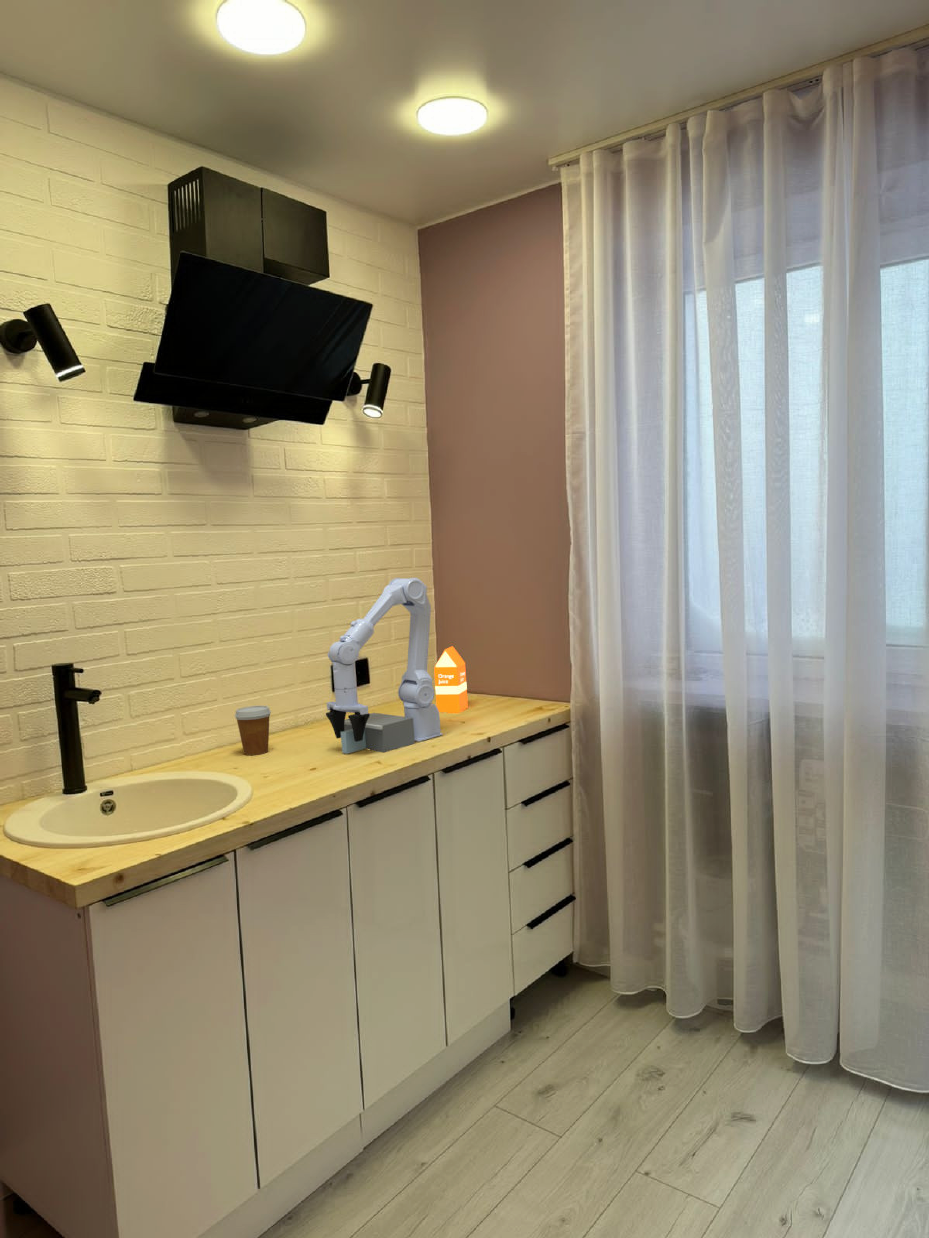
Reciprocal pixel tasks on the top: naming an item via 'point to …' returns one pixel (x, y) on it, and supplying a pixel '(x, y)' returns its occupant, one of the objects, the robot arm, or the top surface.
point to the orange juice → (451, 682)
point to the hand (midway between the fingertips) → (349, 739)
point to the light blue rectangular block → (352, 742)
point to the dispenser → (387, 731)
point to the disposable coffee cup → (254, 729)
